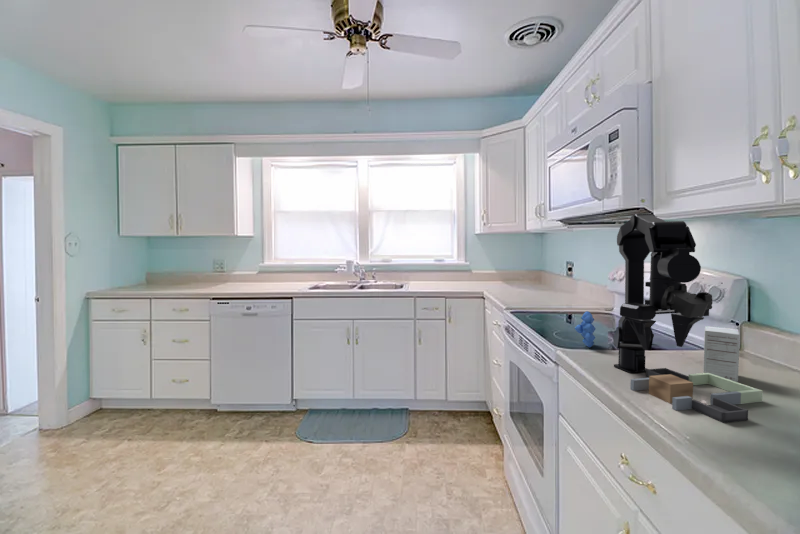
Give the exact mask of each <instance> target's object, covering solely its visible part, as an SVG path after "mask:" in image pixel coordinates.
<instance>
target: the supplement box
mask: <svg viewBox="0 0 800 534" xmlns="http://www.w3.org/2000/svg"><path fill="white" fill-rule="evenodd" d="M740 335H741V334H740V329H737V328H728V327H718V326H709V325H708V326H707V325H706V326H705V327H704V338H703V339H704V341H703V370H702V371H703V372H702V373H711V374H714V375H717V376H720V377H723V378H726V379H729V380H732V381H735V382H738V383H739V367H740V366H739V364H740V363H739V362H740V341H741V340H740V339H741V338H740Z"/></svg>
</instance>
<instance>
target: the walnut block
mask: <svg viewBox="0 0 800 534" xmlns="http://www.w3.org/2000/svg"><path fill="white" fill-rule="evenodd" d="M648 395H650V396H652V397H655V398H657V399H659V400H661V401H663V402H666V403H667V402H668V404H671V405H672V399H673V397H682V396H689V397H692V400H694V399H693V397H694V396H693V395H694V385H693V382H690V381H687V380H685V379H682V378H679V377H677V376H674V375H671V374H668V375H655V376H649V389H648Z"/></svg>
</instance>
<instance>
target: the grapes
mask: <svg viewBox="0 0 800 534" xmlns="http://www.w3.org/2000/svg"><path fill="white" fill-rule="evenodd" d="M580 319H581V320H582V321H581V322H580V323H579V324H577V325H576V326H575V327H574V330H575V331H576V333H578V334H580V335H581V336H582V338H583V339H582V341H581V342H582V343H583V344H584V345H585V346H586V347H587V348H591V347H592V346H594V344H595V342H594V341H595V339H596V336H595V335H594V332H595V331H596V326H594V325H593V323H594V321H595V318H593V314H592V313H591V312H590V311H588V310H586V311H585V312H584V313H583V314H582V316H581V317H580Z"/></svg>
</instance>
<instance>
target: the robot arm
mask: <svg viewBox="0 0 800 534" xmlns="http://www.w3.org/2000/svg"><path fill="white" fill-rule="evenodd" d="M616 244H617V246H618V252H619V254H620V255H621V257H622V258H623V260H624V263H625V266H624V267H625V269H624V270H625V274H624V275H625V276H624V277H625V280H624V285H625V286H624V288H625V289H624V290H625V291H624V303H623V304H622V305H621V306H620V307H619V316H621V317H620V318H619V319H618V323H617V324H618V325H617V327H616V329H615V332H614V333H613V339H612V340H613V346H614V347H615V348H616V349H618V363H616V364H613V367H614V368H617V369H620V370H622V371H624V372H627V373H631V374H633V373H641V372H642V373H646V369H648V368H647V367H646V351H651V350H652V348H653V340H654V337H655V334H654V333H653V329H652V327H653V326H654V325H655V324H656V322H657V320H654V318H655V317H656V315H665V314H666V315H667V314H670V317H671V323H672V329H673V335H674V339H675V344H676V346H677V347H679V348H682V347H684V344H685V342H686V340H687V338H688V335H689V333H690V331H691V329H692V328H693V326H694V325H695V324H696V323H698V322H700V321H703V320H704V319H705V317H709V316H710V310H712V308H713V295H712V294H711V293H709V292H707V291H703V292H702V291H699V292H698V293H697V294H696V293H691V292H689V291H688V286H687V285H686V283H690V282H693V281H694V280H695V279H697V278H698V277H699V275H700V273H701V270H702V267H701V264H700V262H699V260H698V259H697V258H696V257H695V256H693V255H692V254H691V253H695V252H696V246H697V243H696V241H695V239H694V237H693V235H692V232H691V230H690V227H689V226H688V224H687V223H686V222H685V221H684V220H676V221H675V220H671V221H670V220H668V221H667V220H664V219H662V218H659V217H657V216H656V215H655V214H654V213H653V214H652V213H635V214H632V215H631V217H630V219H629V220H628V221H627V222H625V223H623V224H622V225H621V226H620V227H619V230H618V233H617V235H616ZM649 254H650V271H649V272H650V273H649V277H650V278H649V281H645V260H646V259H647V257H648V256H649ZM645 287H648V288H649V299H645Z"/></svg>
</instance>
